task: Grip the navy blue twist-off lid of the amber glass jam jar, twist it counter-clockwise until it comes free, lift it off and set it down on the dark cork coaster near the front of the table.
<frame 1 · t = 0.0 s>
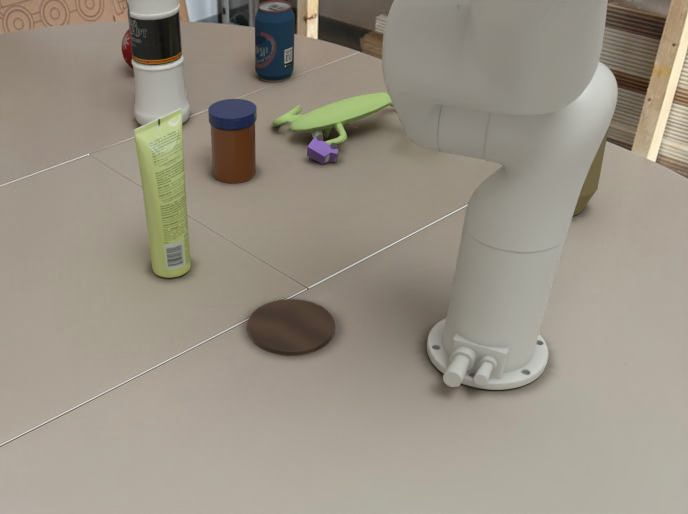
tube: (173, 269, 105), on the table
coaster: (290, 328, 95), on the table
squeeze bottle: (558, 208, 111), on the table
christmas ornament: (147, 73, 154), on the table
soda can: (274, 77, 149), on the table
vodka: (163, 120, 138), on the table
jar lid: (232, 110, 116), point 9 cm above the table, screwed on, not yet turned
figurine: (363, 138, 130), on the table
jam jar: (234, 173, 123), on the table
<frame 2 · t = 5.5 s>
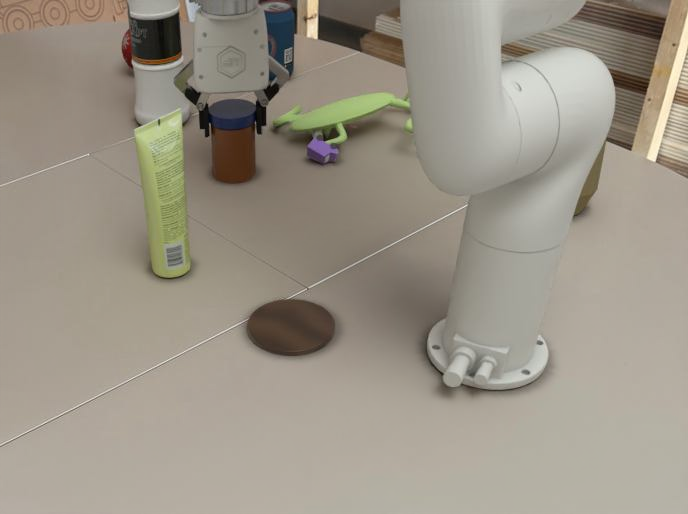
hand: (233, 131, 118), 6 cm above the table, tool pointing down, fingers closed on jar lid, 6 cm apart
jar lid: (232, 110, 116), point 9 cm above the table, screwed on, not yet turned, touching gripper
everything else where it was.
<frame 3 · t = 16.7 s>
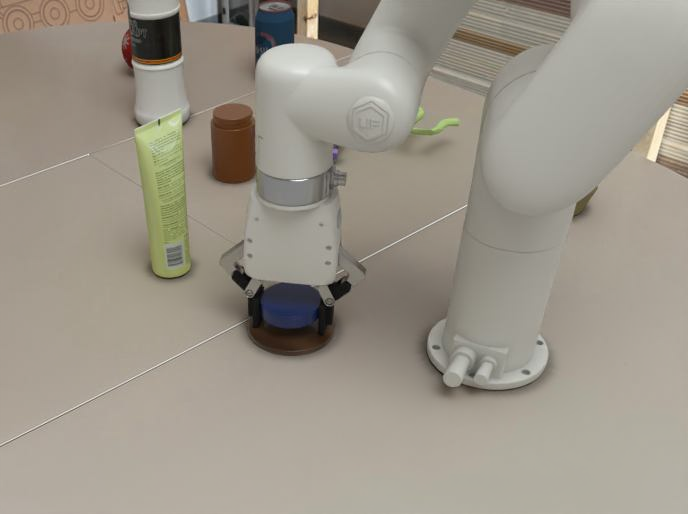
hand: (290, 322, 94), 1 cm above the table, tool pointing down, fingers closed on jar lid, 6 cm apart
jar lid: (290, 301, 92), point 4 cm above the table, off its thread, touching gripper
everything else where it was.
when the fingers open (2 cm above the table, at t = 25.8 s): jar lid drops 3 cm, resting on coaster.
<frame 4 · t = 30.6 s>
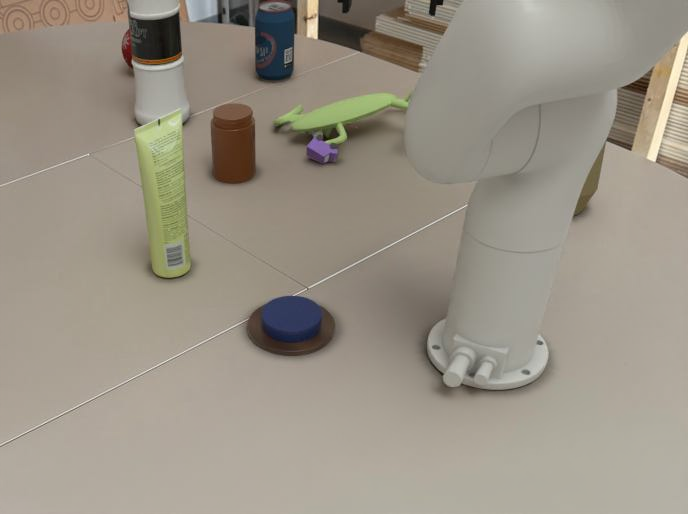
hand: (389, 10, 93), 26 cm above the table, tool pointing down, fingers open, 9 cm apart
jar lid: (291, 315, 93), point 2 cm above the table, off its thread, touching coaster
everything else where it was.
at the end: jar lid inside the target area on the coaster (0.1 cm from its centre), point 1.9 cm above the coaster's base; jar lid point 1.9 cm above the table; the gripper is holding nothing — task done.
